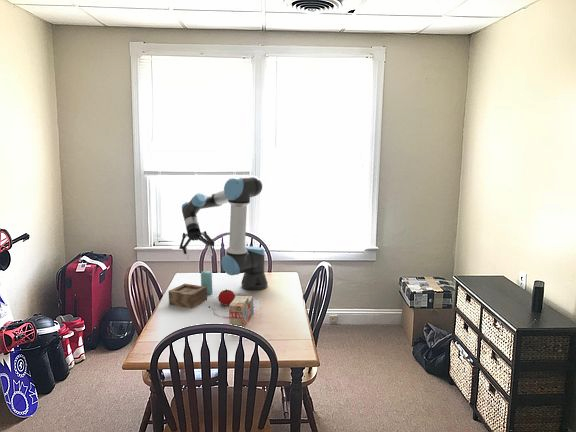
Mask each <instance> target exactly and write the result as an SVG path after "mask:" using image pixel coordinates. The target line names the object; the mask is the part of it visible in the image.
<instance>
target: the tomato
mask: <svg viewBox="0 0 576 432" xmlns="http://www.w3.org/2000/svg"><path fill="white" fill-rule="evenodd" d="M235 297H236V294H235V293H234V291H232V290H231V289H227V288H225V289H224V290H221V291H219V294H218V296H217V298H218V299H217V300H218V302H219V303H220V304H221V305H224V306H229V305H230V303H231V302H232V301H233V300H234V299H235Z"/></svg>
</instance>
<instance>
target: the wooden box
mask: <svg viewBox="0 0 576 432" xmlns="http://www.w3.org/2000/svg"><path fill="white" fill-rule="evenodd" d="M207 300H208V295H207V287H204V286H201V285H196V284H191V283H190V284H189V283H183V284H180V285H178V286H176V287H175V288H172V289H170V290H168V304H169V305H170V306H176V307H181V308H188V309H194V308H195V307H196V306H199V305H200V304H202V303H204V302H205V301H207Z"/></svg>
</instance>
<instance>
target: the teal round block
mask: <svg viewBox="0 0 576 432" xmlns="http://www.w3.org/2000/svg"><path fill="white" fill-rule="evenodd" d="M200 286H204V287H207V296H210V295H212V294H213V272H212V271H211V270H204V271H201V272H200Z"/></svg>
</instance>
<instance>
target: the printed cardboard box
mask: <svg viewBox="0 0 576 432" xmlns="http://www.w3.org/2000/svg"><path fill="white" fill-rule="evenodd" d="M228 308H229V309H228V311H229V313H228V315H229V316H228V317H229V319H228V320H229V325H230V324H232V325H237V326H242V327H245V326H246V327H247V325H248V324H249V321H250V320H251V318H252V317H253V316H254V296H252V295H240V296H239V295H238V296H237V295H235V299H234V300H233V301H232V302H231V303H230V305H228ZM246 327H245V328H246Z"/></svg>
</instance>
